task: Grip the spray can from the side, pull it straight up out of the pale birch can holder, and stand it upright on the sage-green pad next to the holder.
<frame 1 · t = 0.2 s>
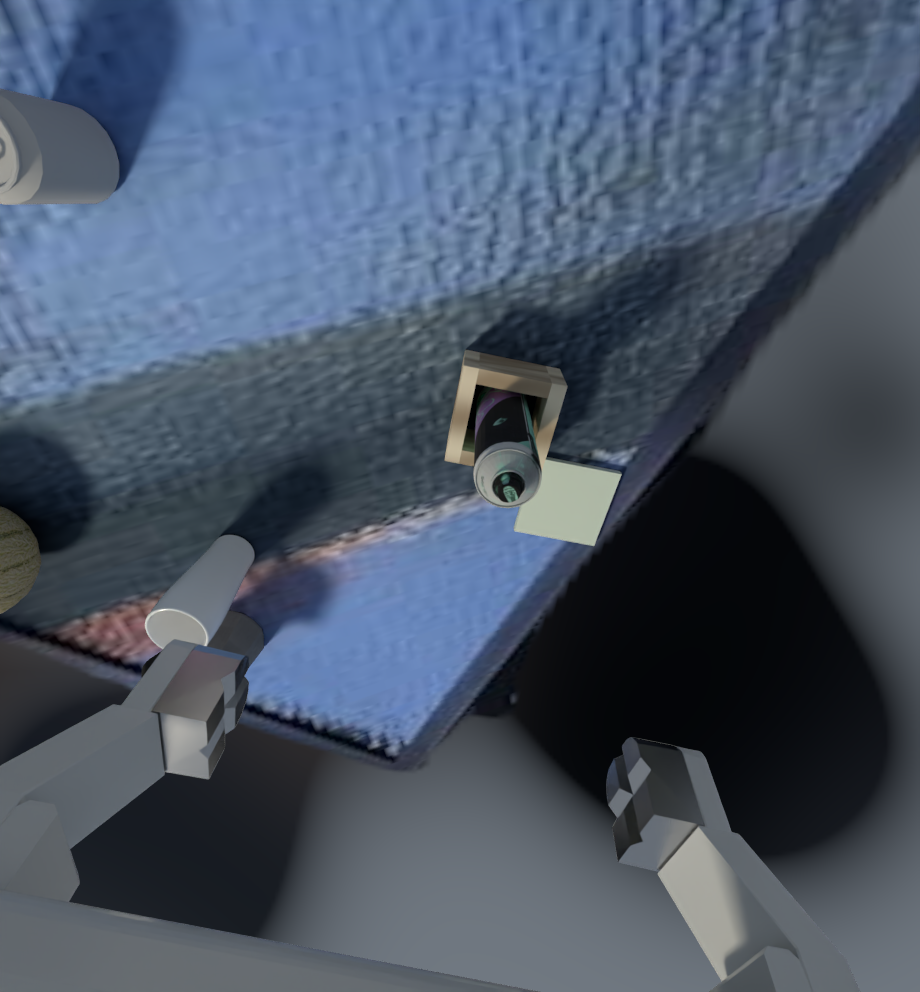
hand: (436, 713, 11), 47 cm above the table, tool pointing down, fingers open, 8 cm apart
coffeepot: (230, 627, 75), on the table
cantaloupe: (9, 527, 68), on the table
drinking glass: (236, 548, 68), on the table
can holder: (501, 404, 57), on the table
sage pad: (565, 500, 63), on the table
spray can: (501, 403, 57), resting in can holder
can: (84, 156, 48), on the table
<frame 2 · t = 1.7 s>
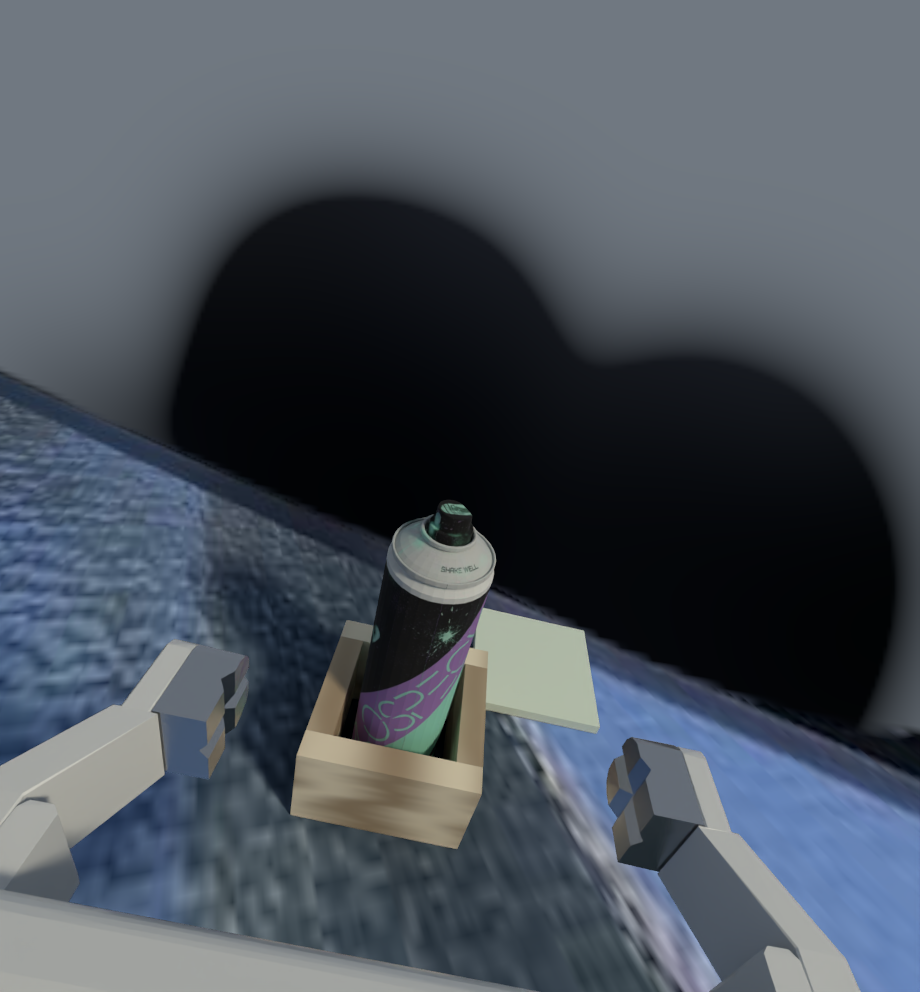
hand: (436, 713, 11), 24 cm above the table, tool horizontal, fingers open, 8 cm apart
can holder: (390, 753, 35), on the table
sage pad: (530, 667, 44), on the table
spray can: (390, 755, 36), resting in can holder
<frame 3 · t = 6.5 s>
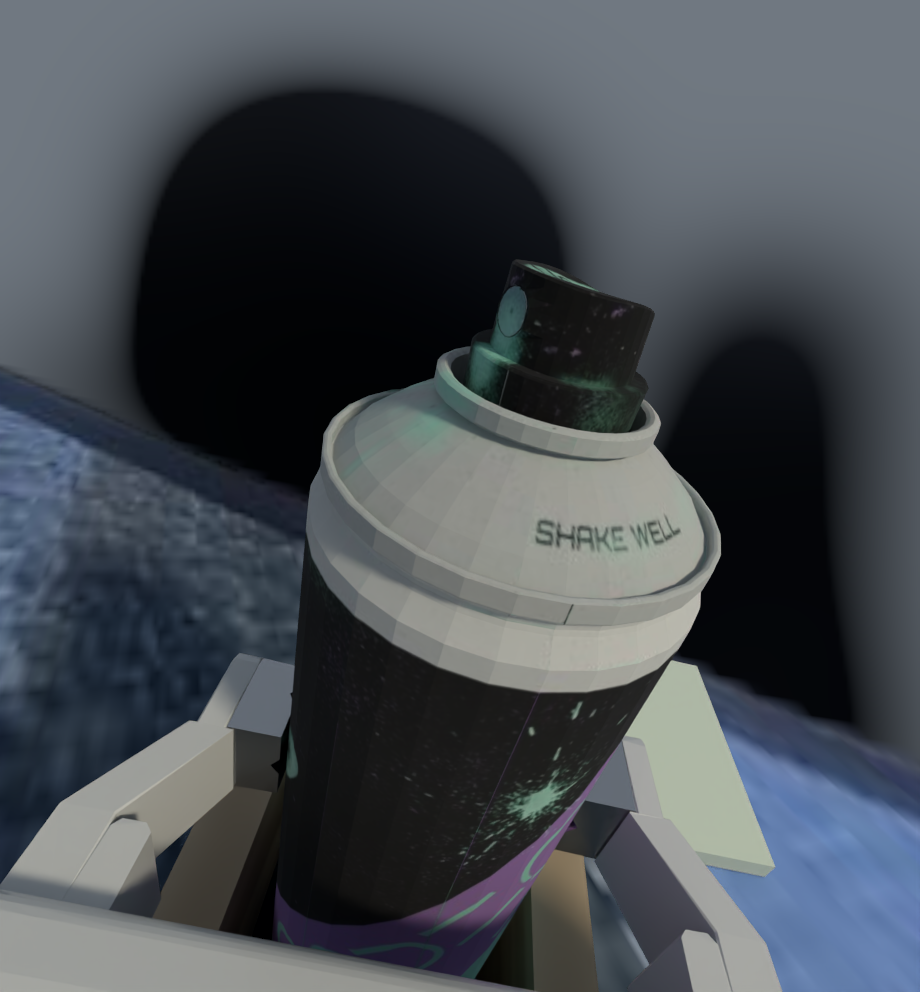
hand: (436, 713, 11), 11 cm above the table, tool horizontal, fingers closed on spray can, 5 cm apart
can holder: (363, 966, 16), on the table
sage pad: (620, 737, 25), on the table
spray can: (362, 968, 16), resting in can holder, touching gripper
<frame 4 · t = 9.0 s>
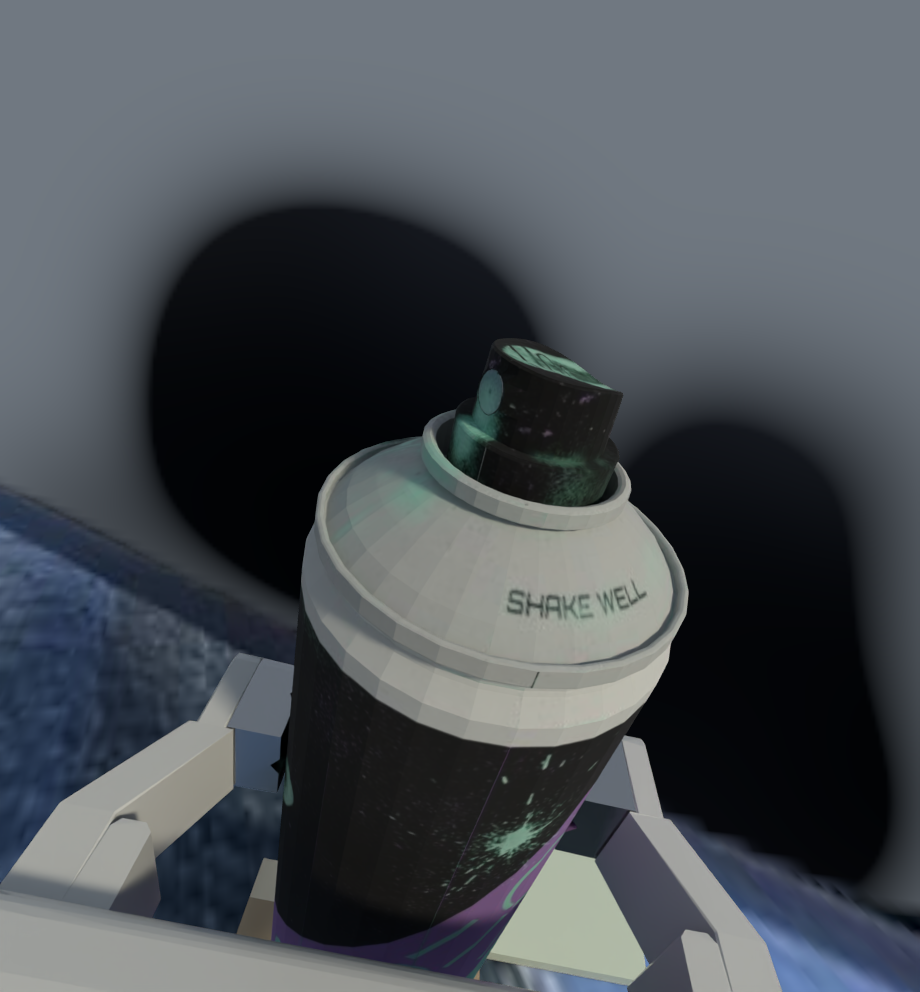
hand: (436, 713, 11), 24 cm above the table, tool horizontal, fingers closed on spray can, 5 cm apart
sage pad: (543, 863, 32), on the table
spray can: (358, 979, 17), point 12 cm above the table, touching gripper
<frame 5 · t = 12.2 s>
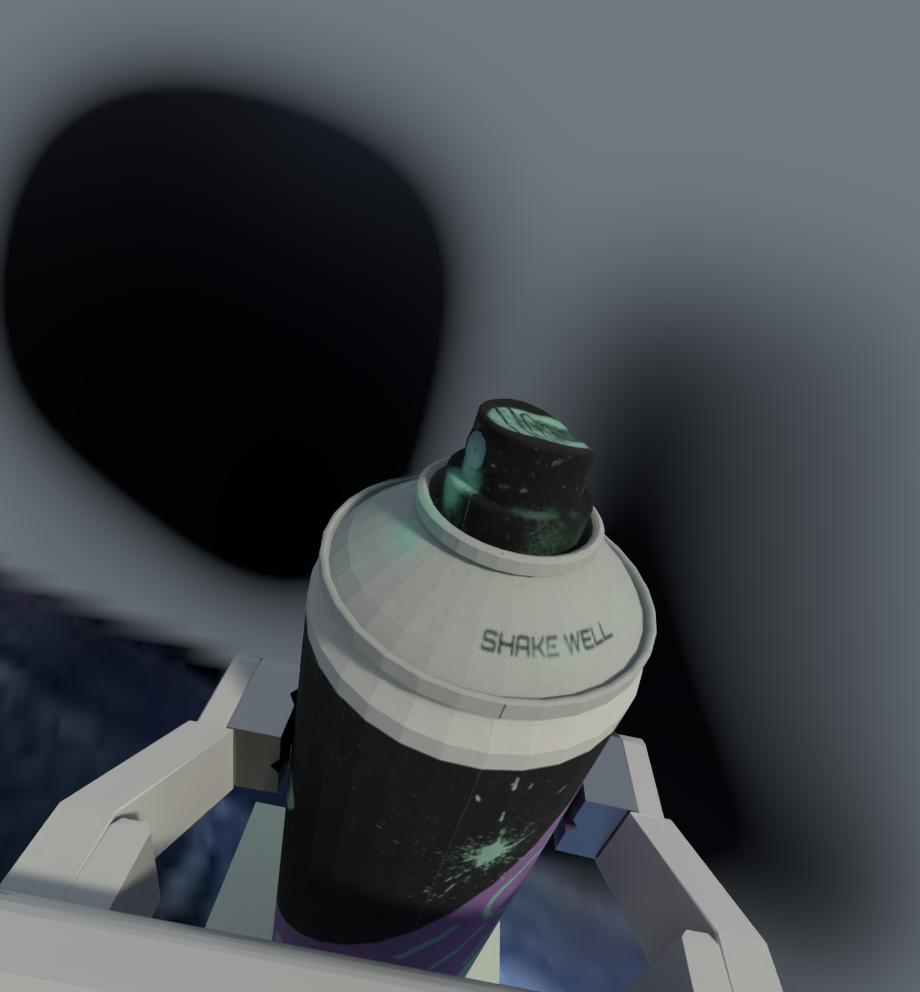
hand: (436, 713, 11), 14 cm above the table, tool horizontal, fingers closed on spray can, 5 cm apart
spray can: (355, 980, 17), point 1 cm above the table, touching gripper, sage pad
when the fingers open (13 cm above the table, at t = 13.2 s): spray can stays where it is, resting on sage pad.
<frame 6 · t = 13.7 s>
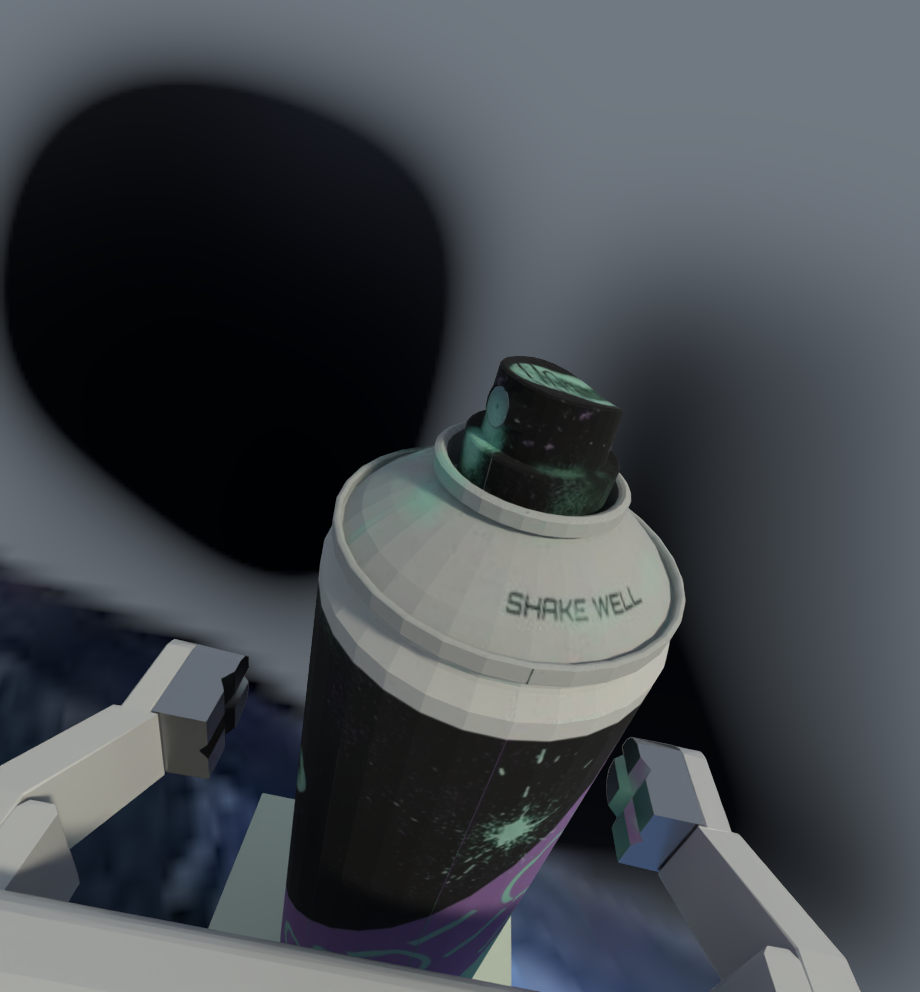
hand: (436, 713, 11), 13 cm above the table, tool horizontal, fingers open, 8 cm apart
sage pad: (354, 990, 17), on the table
spray can: (364, 972, 17), point 1 cm above the table, touching sage pad
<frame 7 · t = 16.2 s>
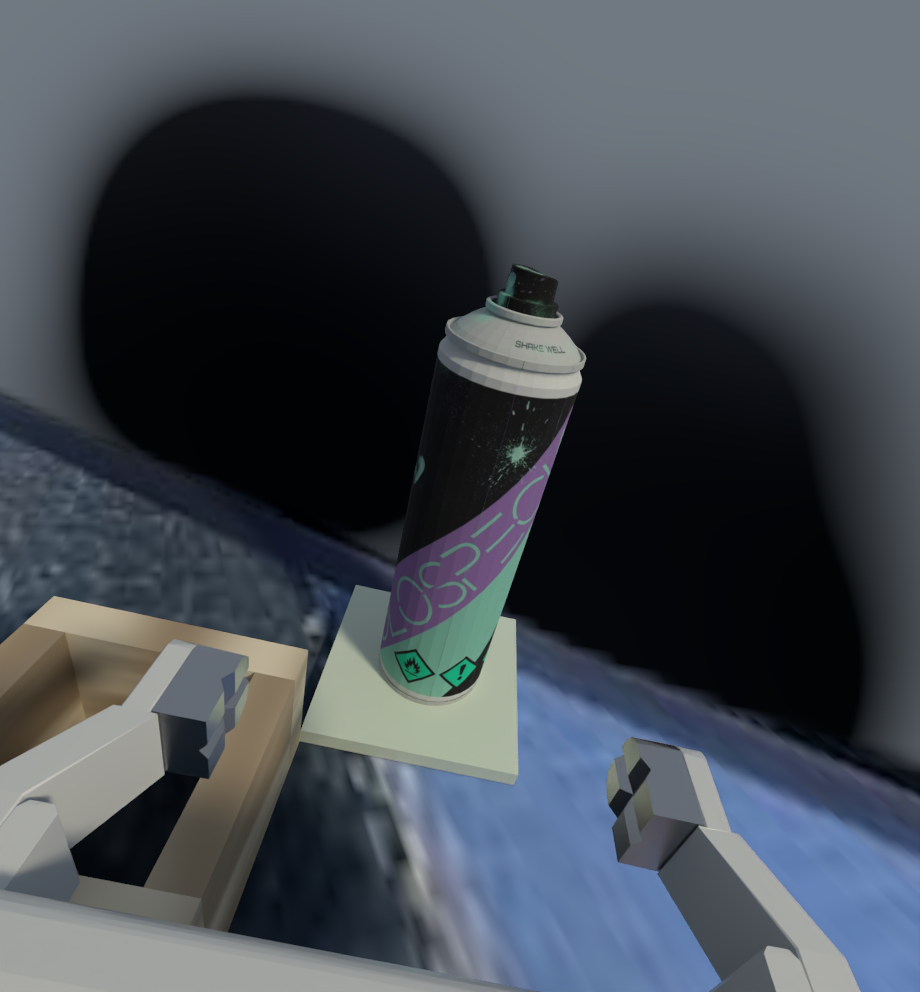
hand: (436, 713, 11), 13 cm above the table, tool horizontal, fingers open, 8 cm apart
can holder: (119, 836, 20), on the table
sage pad: (422, 676, 29), on the table
spray can: (429, 664, 29), point 1 cm above the table, touching sage pad
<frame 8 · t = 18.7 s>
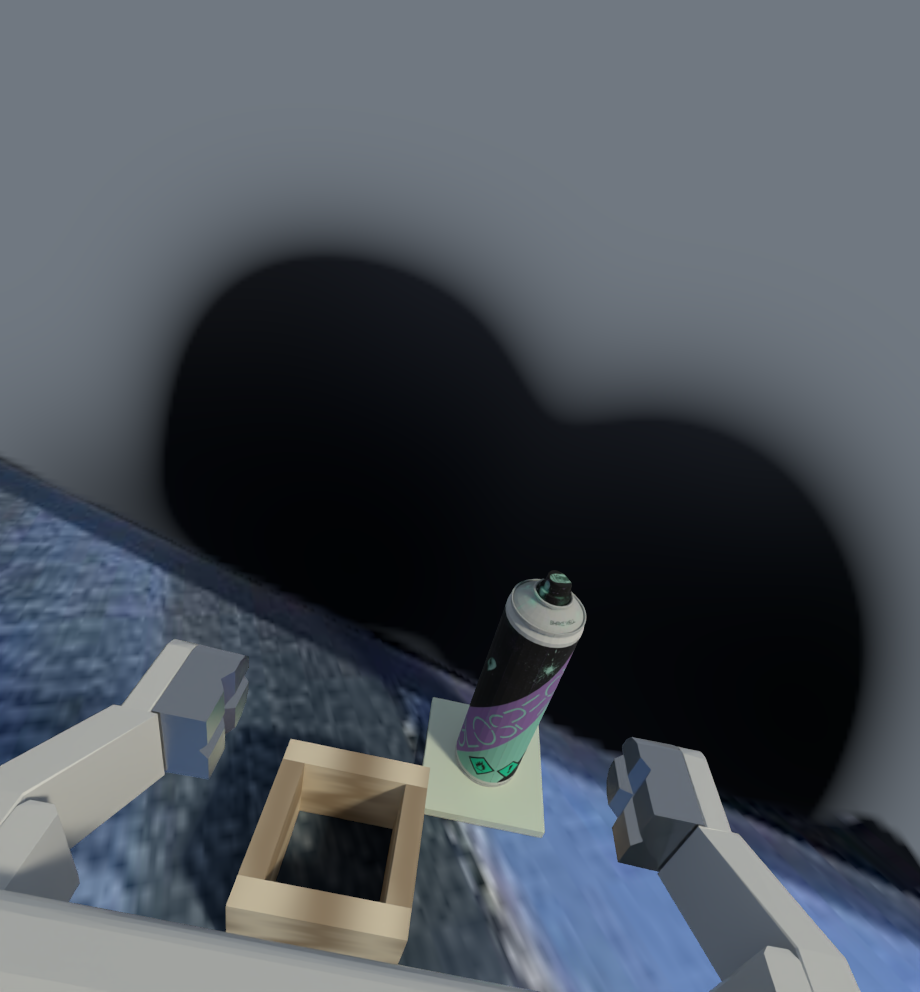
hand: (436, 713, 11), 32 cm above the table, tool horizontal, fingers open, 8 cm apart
can holder: (332, 872, 36), on the table
sage pad: (481, 764, 45), on the table
spray can: (485, 757, 45), point 1 cm above the table, touching sage pad
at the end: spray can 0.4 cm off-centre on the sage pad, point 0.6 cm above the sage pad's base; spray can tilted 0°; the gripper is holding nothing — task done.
